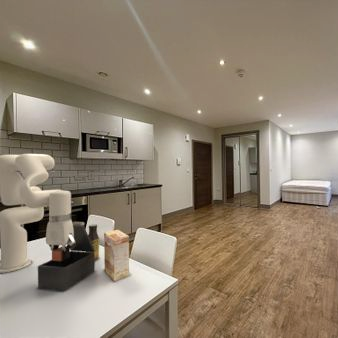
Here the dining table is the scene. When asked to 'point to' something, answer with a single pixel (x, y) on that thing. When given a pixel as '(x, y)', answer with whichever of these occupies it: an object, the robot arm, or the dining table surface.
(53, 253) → the block
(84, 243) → the box lid with handle
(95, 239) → the sauce bottle
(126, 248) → the coffeecake box
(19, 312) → the dining table surface
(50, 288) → the dark grey hollow box
